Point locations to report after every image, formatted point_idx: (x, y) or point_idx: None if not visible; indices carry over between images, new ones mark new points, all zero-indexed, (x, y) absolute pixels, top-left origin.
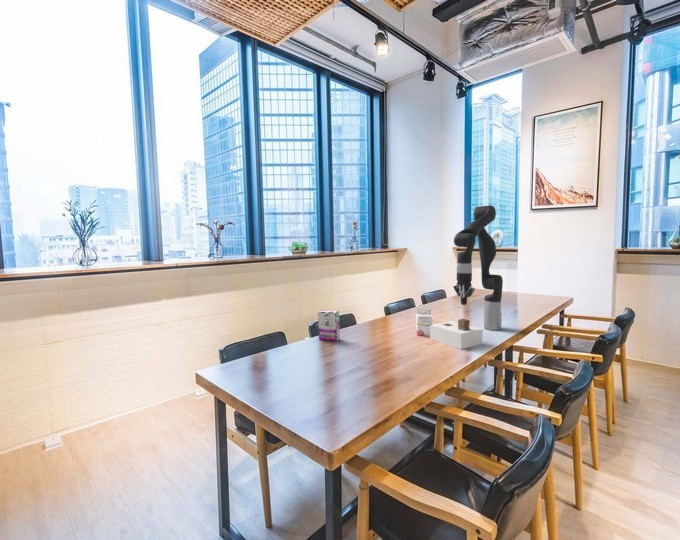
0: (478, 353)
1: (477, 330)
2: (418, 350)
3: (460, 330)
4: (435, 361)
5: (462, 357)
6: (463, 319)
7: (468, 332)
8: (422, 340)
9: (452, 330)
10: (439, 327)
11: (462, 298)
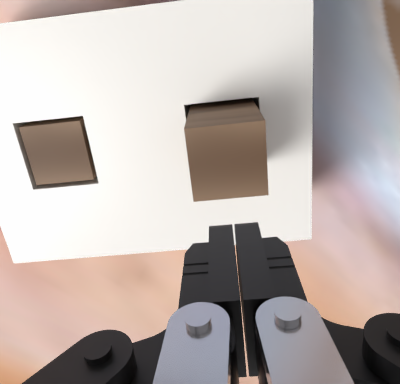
0: (391, 160)
1: (312, 60)
2: None
3: None
4: None
5: (378, 265)
6: (212, 154)
7: (311, 169)
8: (70, 264)
9: None
10: (104, 254)
11: (245, 363)
